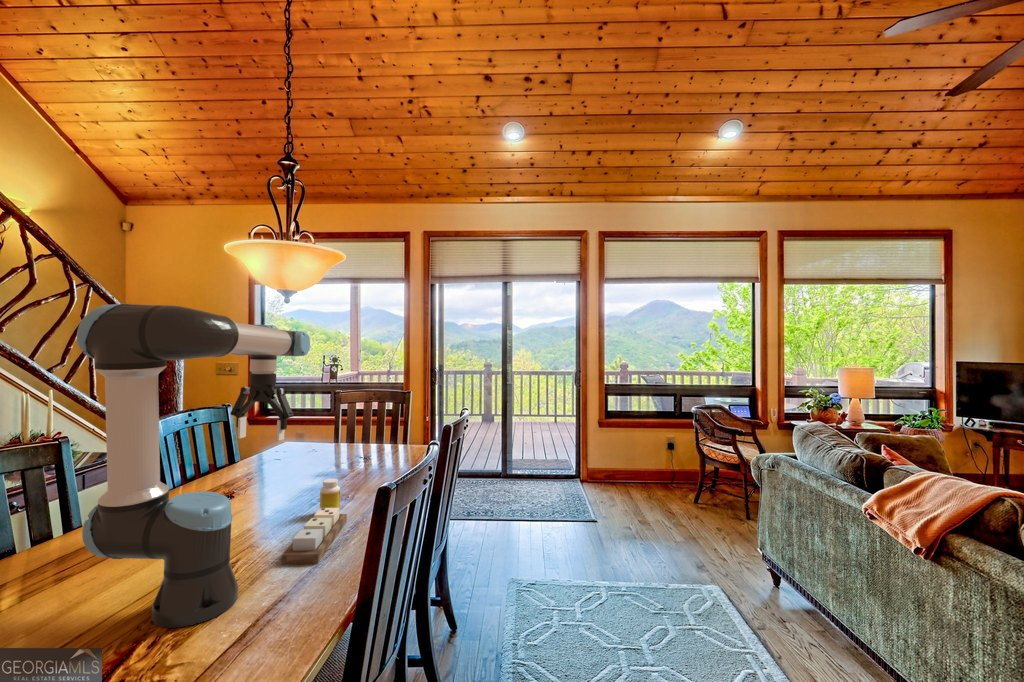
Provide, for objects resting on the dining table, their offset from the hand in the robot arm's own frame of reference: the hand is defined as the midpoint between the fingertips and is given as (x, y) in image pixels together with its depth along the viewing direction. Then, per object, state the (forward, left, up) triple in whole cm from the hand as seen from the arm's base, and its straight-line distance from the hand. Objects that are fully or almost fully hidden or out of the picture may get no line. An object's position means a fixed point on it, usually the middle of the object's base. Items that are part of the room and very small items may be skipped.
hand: (261, 438), depth 141 cm
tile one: (-24, -24, -24) cm, 41 cm away
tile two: (-16, -24, -24) cm, 37 cm away
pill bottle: (+5, -21, -26) cm, 34 cm away
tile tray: (-16, -24, -26) cm, 39 cm away
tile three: (-8, -24, -24) cm, 34 cm away
